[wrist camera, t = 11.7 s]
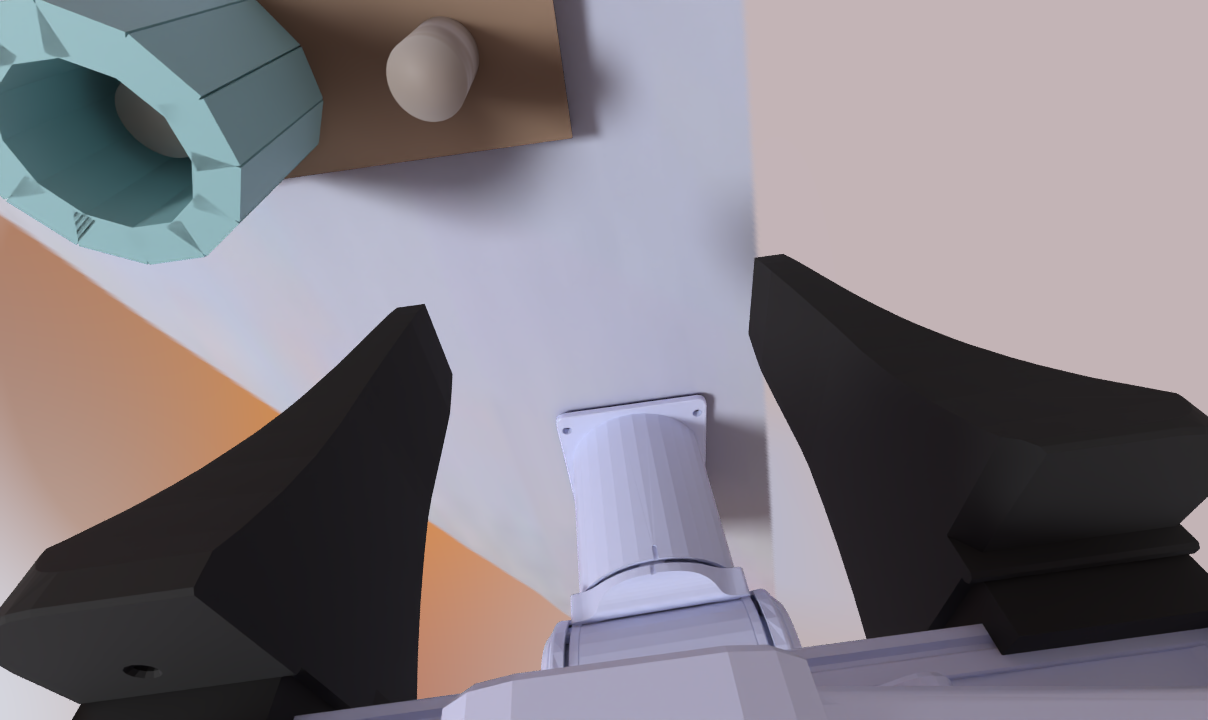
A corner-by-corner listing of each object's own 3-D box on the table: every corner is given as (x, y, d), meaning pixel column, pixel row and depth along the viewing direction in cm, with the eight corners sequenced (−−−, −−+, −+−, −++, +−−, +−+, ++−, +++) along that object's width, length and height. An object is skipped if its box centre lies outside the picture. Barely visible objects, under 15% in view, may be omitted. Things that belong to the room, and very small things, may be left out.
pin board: (571, 129, 19) (576, 176, 16) (187, 183, 19) (110, 241, 16) (540, -88, 15) (538, -89, 12) (61, -18, 15) (-79, 0, 12)
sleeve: (350, 163, 18) (284, 245, 14) (189, 185, 18) (70, 275, 14) (265, -39, 15) (138, -19, 10) (66, -11, 15) (-151, 23, 10)
